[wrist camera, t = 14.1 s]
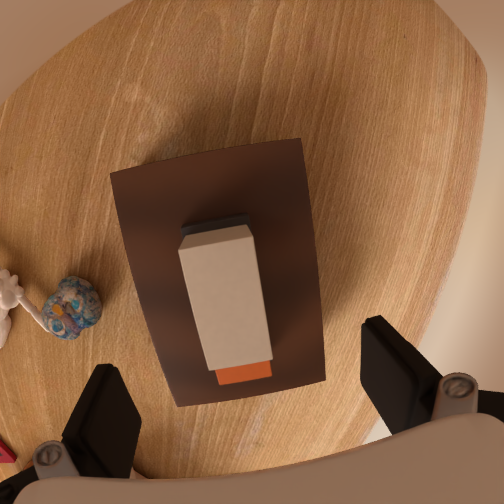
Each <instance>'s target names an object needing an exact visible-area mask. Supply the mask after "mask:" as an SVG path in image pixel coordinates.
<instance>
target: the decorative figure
mask: <svg viewBox="0 0 504 504" xmlns="http://www.w3.org/2000/svg"><path fill="white" fill-rule="evenodd" d="M19 303H20V304H21V305H22V306H23V307H24V308H25V309H26V310H27V311H28V312H31V314H32V316H33V318H34V319H35V320H36V321H37V322H38V323H39V324H40V325H41V326H42V327H43V328H44V329H45V330H46V331H47V332H49V331H48V330H47V329H46V327H45V326H44V323H43V321H42V316H41V315H42V313H41V312H39V311H38V310H37V307H36V306H33V304H32V303H31V302H30V301H29V300H28V298H27V297H26V296H25V295H24V289H23V288H22V287H21V286H19V285H18V276H17V275H13V276H12V277H11V276H10V273H9V271H8V270H7V269H4V270H3V269H2V268H1V267H0V349H1V348H2V347H3V345H4V344H5V342H6V340H7V337H8V333H9V330H10V328H11V318H10V317H9V315H8V314H7V313H8V311H9V309H10V308H14V307H16V306H17V305H18V304H19Z"/></svg>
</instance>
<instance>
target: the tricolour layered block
mask: <svg viewBox="0 0 504 504" xmlns="http://www.w3.org/2000/svg"><path fill="white" fill-rule="evenodd" d="M180 229H181V234H182V238H183V242H182V244H181V246H180V248H179V250H178V251H179V256H180V260H181V265H182V269H183V273H184V278H185V282H186V286H187V290H188V294H189V298H190V302H191V306H192V310H193V314H194V318H195V322H196V326H197V329H198V333H199V337H200V340H201V344H202V348H203V351H204V355H205V358H206V362H207V365H208V369H209V370H215V371H216V375H217V378H218V382H219V385H224V384H231V383H237V382H242V381H248V380H254V379H259V378H264V377H269V376H272V371H271V365H270V361H272V359H273V355H272V349H271V343H270V337H269V331H268V324H267V318H266V312H265V306H264V300H263V293H262V287H261V281H260V275H259V269H258V263H257V257H256V251H255V244H254V238H253V235H252V231H251V225H250V219H249V215H248V214H247V213H241V214H236V215H230V216H225V217H219V218H214V219H208V220H203V221H198V222H192V223H187V224H183V225H182V226H181V228H180Z"/></svg>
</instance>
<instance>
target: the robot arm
mask: <svg viewBox="0 0 504 504" xmlns="http://www.w3.org/2000/svg"><path fill="white" fill-rule="evenodd" d="M360 381H361V384H362V387H363V388H364V390H365V391H366V393H367V395H368V396H369V398H370V400H371V401H372V403H373V404H374V406H375V408H376V409H377V411H378V413H379V414H380V416H381V417H382V419H383V420H384V422H385V424H386V426H387V427H388V429H389V431H390V432H391V434H392V436H389V437H386V438H383V439H380V440H377V441H374V442H371V443H368V444H365V445H362V446H358V447H355V448H352V449H349V450H345V451H342V452H339V453H335V454H331V455H328V456H324V457H320V458H316V459H312V460H308V461H303V462H299V463H294V464H290V465H285V466H280V467H274V468H269V469H263V470H257V471H251V472H244V473H236V474H228V475H219V476H208V477H196V478H178V479H130V474H131V469H132V464H133V460H134V455H135V450H136V446H137V442H138V437H139V433H140V429H141V424H142V421H141V417H140V414H139V412H138V410H137V408H136V406H135V404H134V402H133V400H132V398H131V396H130V394H129V392H128V390H127V388H126V386H125V383H124V381H123V379H122V377H121V375H120V372H119V370H118V368H117V367H114V366H113V365H112V364H110V363H109V364H98V365H97V366H96V367H95V369H94V371H93V373H92V375H91V376H90V378H89V380H88V382H87V384H86V386H85V388H84V390H83V392H82V394H81V396H80V398H79V400H78V402H77V404H76V406H75V408H74V410H73V412H72V414H71V416H70V418H69V420H68V422H67V425H66V427H65V429H64V431H63V433H62V435H61V436H62V437H63V439H62V441H61V442H59V441H55V440H51V441H47V442H44V443H42V444H41V445H39V446H38V447H37V448H36V449H35V451H34V453H33V457H32V459H33V464H34V465H33V466H31V467H29V468H27V469H25V470H23V471H21V472H20V473H18V474H16V475H14V476H12V477H10V478H8V479H6V480H4V481H2V482H1V483H0V504H504V393H503V392H493V391H484V390H478V383H477V382H476V380H475V379H474V378H473V377H471V376H470V375H468V374H465V373H460V372H459V373H451V374H448V375H446V376H444V377H443V376H442V375H441V374H440V373H439V372H438V371H437V370H436V369H435V368H434V367H433V366H432V365H431V364H430V363H429V361H427V359H425V357H423V355H422V354H421V353H420V352H419V351H418V350H417V349H416V348H415V347H414V346H413V345H412V344H411V343H409V342H408V341H406V340H405V339H404V338H403V337H402V336H401V335H400V334H399V333H398V332H397V331H396V330H395V329H394V328H393V327H392V326H391V325H390V324H389V323H388V322H387V321H386V320H385V319H384V318H383V317H382V316H381V315H378V316H374V317H371V318H367V319H366V320H365V323H363V324H362V326H361V369H360Z"/></svg>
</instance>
